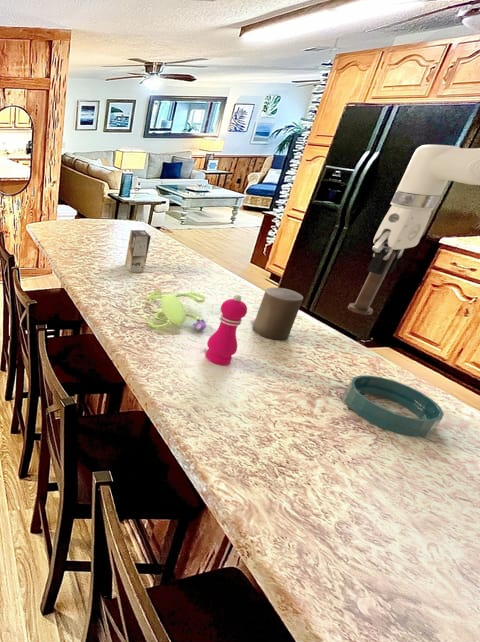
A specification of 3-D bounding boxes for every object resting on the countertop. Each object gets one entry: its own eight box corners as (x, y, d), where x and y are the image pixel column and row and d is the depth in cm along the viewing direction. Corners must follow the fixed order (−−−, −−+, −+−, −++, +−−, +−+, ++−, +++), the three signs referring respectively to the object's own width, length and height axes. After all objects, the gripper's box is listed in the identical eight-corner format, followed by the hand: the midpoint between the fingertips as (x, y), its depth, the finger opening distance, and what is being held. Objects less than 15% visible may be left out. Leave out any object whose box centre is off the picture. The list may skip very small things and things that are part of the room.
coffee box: (144, 272, 166) (151, 236, 159) (129, 271, 166) (136, 236, 159) (138, 264, 174) (145, 230, 167) (124, 264, 174) (130, 229, 167)
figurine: (201, 303, 140) (205, 289, 137) (209, 340, 117) (214, 324, 115) (147, 295, 146) (150, 281, 143) (145, 328, 123) (148, 313, 121)
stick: (355, 305, 108) (383, 247, 100) (375, 313, 104) (406, 253, 96) (343, 307, 106) (370, 249, 99) (363, 316, 102) (394, 255, 95)
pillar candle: (286, 344, 116) (304, 299, 110) (249, 333, 122) (265, 290, 115) (288, 331, 123) (306, 288, 117) (253, 321, 129) (268, 280, 122)
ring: (366, 389, 98) (376, 370, 95) (444, 432, 85) (459, 411, 82) (325, 402, 93) (335, 382, 90) (402, 450, 80) (416, 428, 78)
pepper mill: (210, 348, 113) (229, 287, 105) (236, 360, 108) (258, 296, 100) (198, 357, 109) (217, 294, 100) (225, 369, 104) (247, 304, 95)
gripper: (412, 206, 86) (375, 281, 94) (454, 202, 91) (415, 273, 99) (374, 199, 92) (342, 270, 100) (415, 195, 97) (381, 263, 106)
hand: (379, 271), depth 100 cm, fingers closed on stick, 3 cm apart
